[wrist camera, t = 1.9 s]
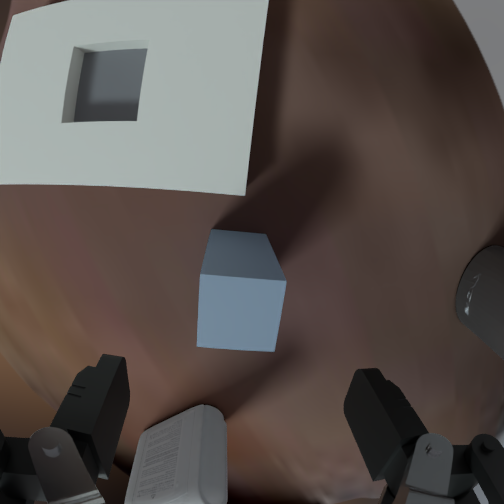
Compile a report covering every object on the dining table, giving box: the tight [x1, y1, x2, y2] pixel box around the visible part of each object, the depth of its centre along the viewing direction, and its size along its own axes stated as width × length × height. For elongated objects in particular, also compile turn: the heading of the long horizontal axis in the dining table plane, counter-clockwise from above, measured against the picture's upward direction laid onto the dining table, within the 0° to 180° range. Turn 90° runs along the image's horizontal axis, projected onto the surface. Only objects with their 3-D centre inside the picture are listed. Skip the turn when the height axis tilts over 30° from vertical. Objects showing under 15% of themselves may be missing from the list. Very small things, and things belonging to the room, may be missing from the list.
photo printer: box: [125, 404, 227, 504], centre depth 23 cm, size 10×4×12 cm, turn 126°
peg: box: [197, 229, 287, 352], centre depth 20 cm, size 4×4×9 cm
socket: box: [0, 0, 269, 196], centre depth 18 cm, size 20×14×3 cm
